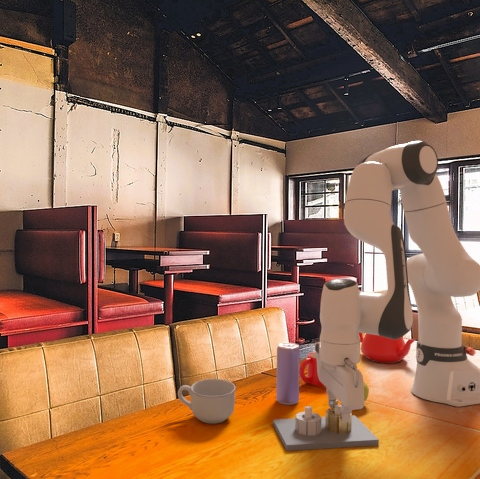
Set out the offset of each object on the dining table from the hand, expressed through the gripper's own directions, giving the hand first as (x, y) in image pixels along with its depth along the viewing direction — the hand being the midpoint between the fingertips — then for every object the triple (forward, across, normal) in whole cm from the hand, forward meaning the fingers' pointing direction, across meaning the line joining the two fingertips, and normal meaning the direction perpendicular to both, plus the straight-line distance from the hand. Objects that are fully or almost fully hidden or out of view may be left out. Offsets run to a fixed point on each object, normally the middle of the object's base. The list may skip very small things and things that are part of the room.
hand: (338, 414), depth 106 cm
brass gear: (+3, 0, 0) cm, 3 cm away
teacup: (+5, +12, +28) cm, 31 cm away
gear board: (+4, 0, +4) cm, 6 cm away
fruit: (+5, +16, -10) cm, 20 cm away
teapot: (+5, +56, -38) cm, 67 cm away
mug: (+5, +34, -6) cm, 35 cm away
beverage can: (+5, +20, +6) cm, 22 cm away
